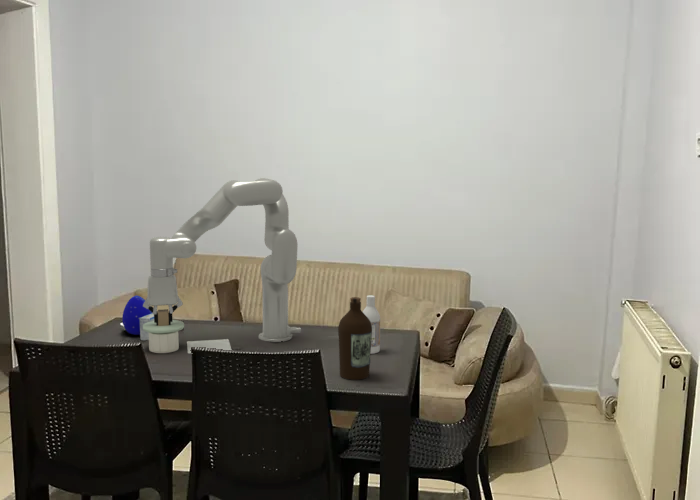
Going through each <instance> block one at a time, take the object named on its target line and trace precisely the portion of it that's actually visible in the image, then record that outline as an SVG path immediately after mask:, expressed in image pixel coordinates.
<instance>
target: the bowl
mask: <svg viewBox="0 0 700 500" xmlns="http://www.w3.org/2000/svg"><path fill="white" fill-rule="evenodd" d="M179 346H180V345H179V331H175V332H170V333H150V332H149V340H148V351H149V352H152V353H153V354H154V353H156V354H168V353H172V352H173V353H174V352H176V351H178V350H179V348H180V347H179Z"/></svg>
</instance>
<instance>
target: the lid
mask: <svg viewBox="0 0 700 500" xmlns="http://www.w3.org/2000/svg"><path fill="white" fill-rule="evenodd" d="M157 311H158V326H156V323H154V321H151V322H147V323H145V324H143V330H144V331H146V332H150V333H170V332H175V331H178V332H179V331H181V330H183V329H185V323H184V322H183V321H182V320H177V319H173V322H171V325H169V317H168V313H169V308H168V309H167V308H164V309H157Z"/></svg>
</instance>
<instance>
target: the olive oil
mask: <svg viewBox="0 0 700 500" xmlns="http://www.w3.org/2000/svg"><path fill="white" fill-rule="evenodd" d="M349 300H350V302H349V310H348V311H347V312H346V313H345V315H344V316H342V318H340V321H339V322H338V326H337V327H338V328H337V332H338V358H339V376H340V377H341V378H343V379H346V380H353V381H354V380H355V381H357V380H364V379H367V378H368V377H369V376H370V368H371V354H370V352H371V337H372V325H371V322H370V320H369V319H368V317H367V316H366V315H365V314H364V313H363V310H362V309H361V307H362V302H361V297H357V296H353V297H350V299H349Z"/></svg>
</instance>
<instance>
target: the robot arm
mask: <svg viewBox="0 0 700 500" xmlns="http://www.w3.org/2000/svg"><path fill="white" fill-rule="evenodd" d="M238 206H239V207H247V206H248V207H249V206H263V208H264V213H265V214H264V215H265V217H264V218H265V220H264V221H265V222H264V225H265V226H264V237H263V238H264V241H263V242H264V244H265V246H266V247H267V249H268V250H270V251H271V254H269V255H267V256H265V257H264V258H263V260H262V261H261V265H260V276H261V277H260V279H261V286H262V288H261V289H262V292H261V293H262V332H260V333H259V334H258V339H259V340H261V341H265V342H269V343H282V342H281V341H283V342H287V341H289V340H291V339H293V333H294V334H296V333H297V334H300V333H301V331H302V329H301V327H297V326H290V325H289V287H288V284H290V283H292V281H294V279H295V276H296V273H297V266H298V265H297V264H298V240H297V237H296V234H295V232H293V231H292V230H291V229H290V228H289V223H290V221H289V214H290V213H289V206H288V202H287V199H286V197H285V195H284V194H283V187H282V186H281V184H280V183H279V182H278V181H277V180H275V179H270V178H266V177H264V178H261V177H260V178H257V179H256V180H255V181H254V180H253V181H240V180H239V181H238V180H229V181H227V182H226V183H224V184H223V185H222V186H221V187H220V188H219V190H217V192H215V194H214V195H213V196H212V197H211V198H210V199H209V200H208V201H207V202H206V203H205V204H204V205H203V207H202V208H200V210H198V211H197V212H196V213H195V214H193V215H192V216H191V217H190V218H189V219H188V220H187V221H185V223H183V225H181V227H179V229H178V230H176V232H175V233H174V234H173V235H172V236H171V238H170V237H167V236H154V237H152V238H150V240H149V256H150V257H149V261H150V276H148V279H147V292H146V293H147V297H146V299H144V300H145V302H144V304H143V307H145V308H147V309H149V310H150V311H151V312H152V313H153V314H154V323H156V326H158V306H161V307H162V306H167V307H168V317H169V325H171V322H173V320H174V319H173V313H174V312H175V311H176V310H177V309H178V308H180V307H181V306H183V305H184V304H183V301H182V300H181V298H180V297H179V294H178V293H179V292H178V282H177V277H176V275H174V274H177V273H178V268H174V262H173V261H174V260H173V258H174V259H189V258H191V257H193V256H194V255H195V253H196V252H197V244H196V242H197V241H198V240H199V238H201V237H202V235H204V234H205V233H207V232H208V231H210V230H212V229H213V230H214V229H215V228H217V227H219V226H220V225H222V223H223V222H225V220H226V219H227V218H228V217H229V216H230V215H231V214H232V213H233V211H234V210H235V209H236V208H237V207H238ZM148 304H149V305H148Z"/></svg>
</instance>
